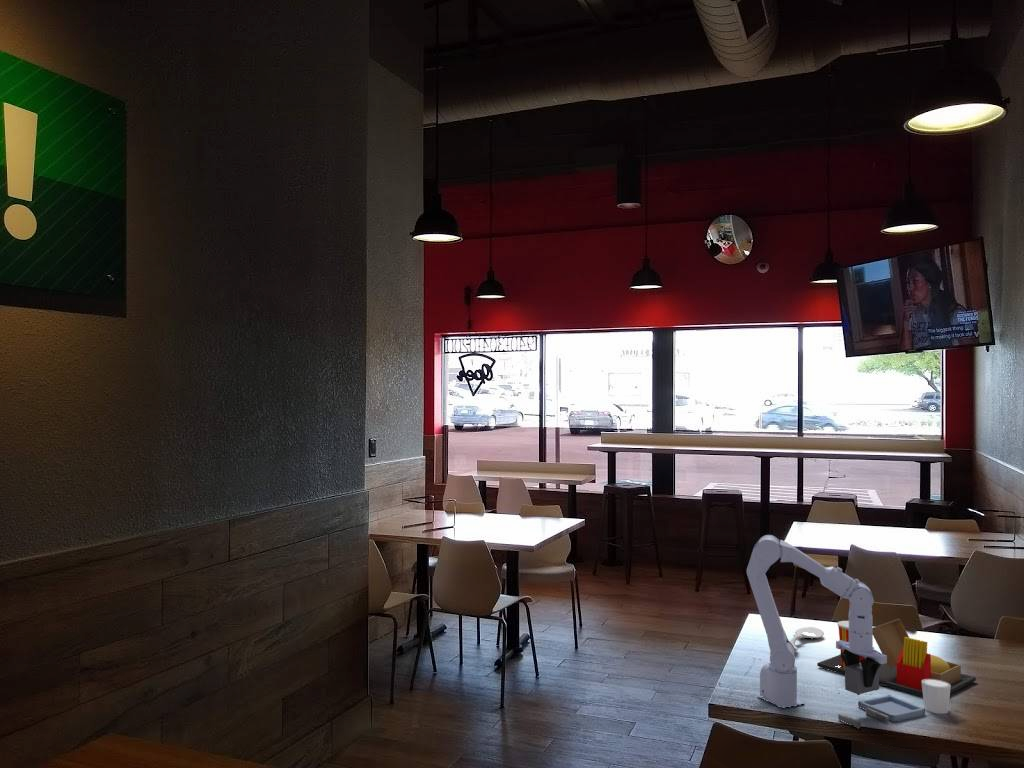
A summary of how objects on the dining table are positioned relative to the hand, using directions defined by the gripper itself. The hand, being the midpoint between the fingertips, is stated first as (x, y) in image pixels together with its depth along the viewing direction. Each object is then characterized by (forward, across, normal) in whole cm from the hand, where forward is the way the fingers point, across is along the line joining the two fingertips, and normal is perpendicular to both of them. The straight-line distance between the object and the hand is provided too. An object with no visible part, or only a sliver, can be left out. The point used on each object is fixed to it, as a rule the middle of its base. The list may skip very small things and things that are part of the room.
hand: (860, 683), depth 203 cm
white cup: (+8, -6, -20) cm, 23 cm away
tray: (+8, -2, -8) cm, 11 cm away
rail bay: (+7, -4, +4) cm, 9 cm away
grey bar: (+2, 0, 0) cm, 2 cm away
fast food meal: (+8, +17, -34) cm, 39 cm away
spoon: (+8, +52, -30) cm, 61 cm away
